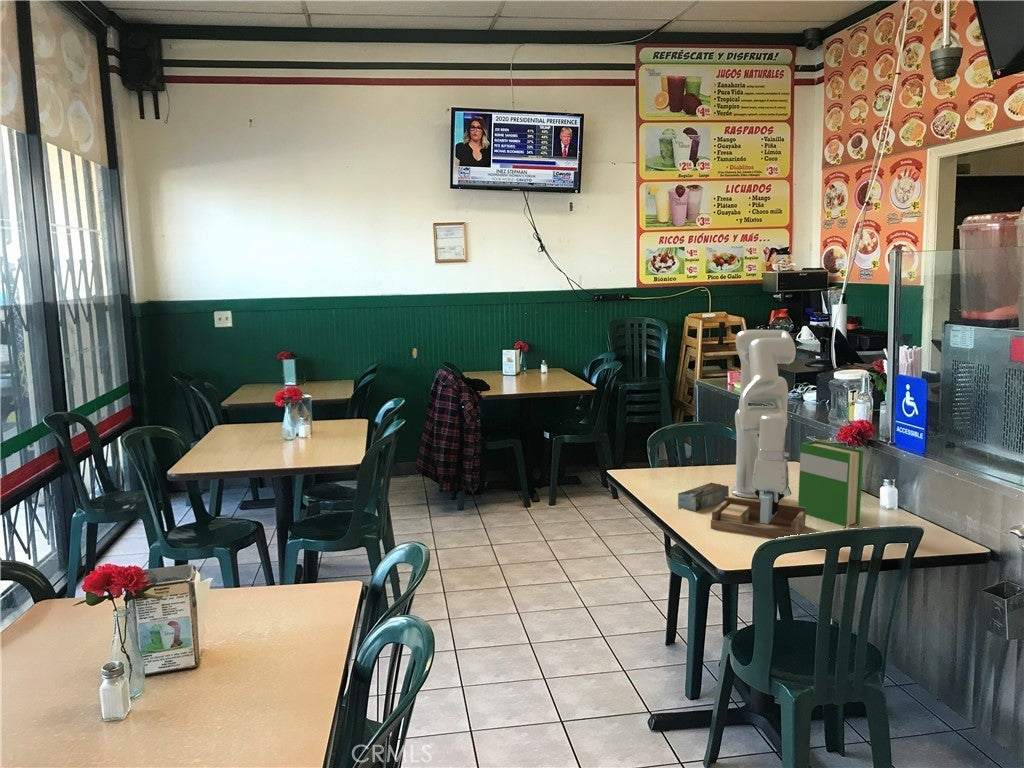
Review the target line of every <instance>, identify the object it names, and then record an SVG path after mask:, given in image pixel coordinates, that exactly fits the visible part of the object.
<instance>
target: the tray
mask: <svg viewBox="0 0 1024 768" xmlns="http://www.w3.org/2000/svg"><path fill="white" fill-rule="evenodd" d="M730 504H736V505H743V506H750V507H749V521H748V522H747V523H746V524H740V523H734V522H727V521H720V519H721V512H722V511H723V510H724V509H726V508H727V507H728V506H729V505H730ZM806 516H807V515H806V507H801V506H798V505H793V504H787V503H786V504H785V503H779V504H778V512H777V514H776V515H775V516H774V517H773V518H772V520H771V521H770V522H769V523H768V524H765V523H760V500H755V499H750V498H749V499H746V498H743V497H740V498H739V497H735V496H734V497H733V496H729V497H727V496H726V497H725V501H723V502H722V503H720V504H718V505H717V506H716V507H715V508H714V509H713V510H712V512H711V519H710V529H713V530H719V531H720V530H721V531H725V532H731V533H732V532H733V533H738V534H744V535H745V534H747V535H752V536H756V537H764V538H771V539H776V538H778V537H784V536H790V535H797V534H799V535H800V534H801V532H802V531H803V529H804V528H805V527H806Z"/></svg>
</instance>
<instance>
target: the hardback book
mask: <svg viewBox="0 0 1024 768" xmlns="http://www.w3.org/2000/svg"><path fill="white" fill-rule="evenodd" d="M863 462H864V450H863V449H859V448H858V449H857V448H854V447H853V448H852V447H849V446H843V445H839V444H835V443H830V442H825V441H821V440H810V441H805V442H801V443H800V455H799V477H798V478H799V479H798V501H797V503H798V505H797V506H801V507H806V516H809V517H810V516H811V517H813V518H817V519H821V520H823V521H827V522H830V523H833V524H836V525H840V526H843V527H844V528H846V529H847V526H849V525H854V524H857V525H856V526H860V519H861V503H862V502H861V501H862V482H863V481H862V480H863V465H864V463H863ZM844 528H843V529H844Z"/></svg>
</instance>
